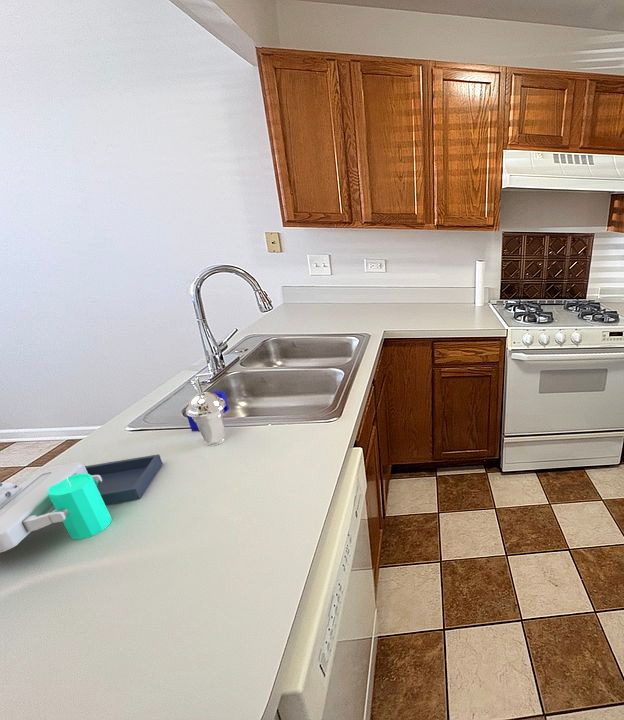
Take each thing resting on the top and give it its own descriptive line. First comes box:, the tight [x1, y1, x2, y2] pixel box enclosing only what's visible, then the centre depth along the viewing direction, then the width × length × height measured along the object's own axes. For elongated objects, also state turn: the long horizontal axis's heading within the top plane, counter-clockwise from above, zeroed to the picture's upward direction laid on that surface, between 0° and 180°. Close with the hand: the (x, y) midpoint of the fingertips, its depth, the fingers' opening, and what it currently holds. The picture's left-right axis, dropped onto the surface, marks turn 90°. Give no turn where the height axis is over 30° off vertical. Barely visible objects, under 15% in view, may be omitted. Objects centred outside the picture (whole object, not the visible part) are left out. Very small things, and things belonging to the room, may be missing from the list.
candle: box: [47, 473, 113, 540], centre depth 74 cm, size 6×6×12 cm
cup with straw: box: [185, 371, 227, 447], centre depth 99 cm, size 8×9×20 cm
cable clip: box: [186, 390, 230, 432], centre depth 112 cm, size 12×4×6 cm, turn 179°
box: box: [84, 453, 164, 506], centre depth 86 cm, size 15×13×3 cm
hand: (83, 496), depth 74 cm, fingers open, 8 cm apart
